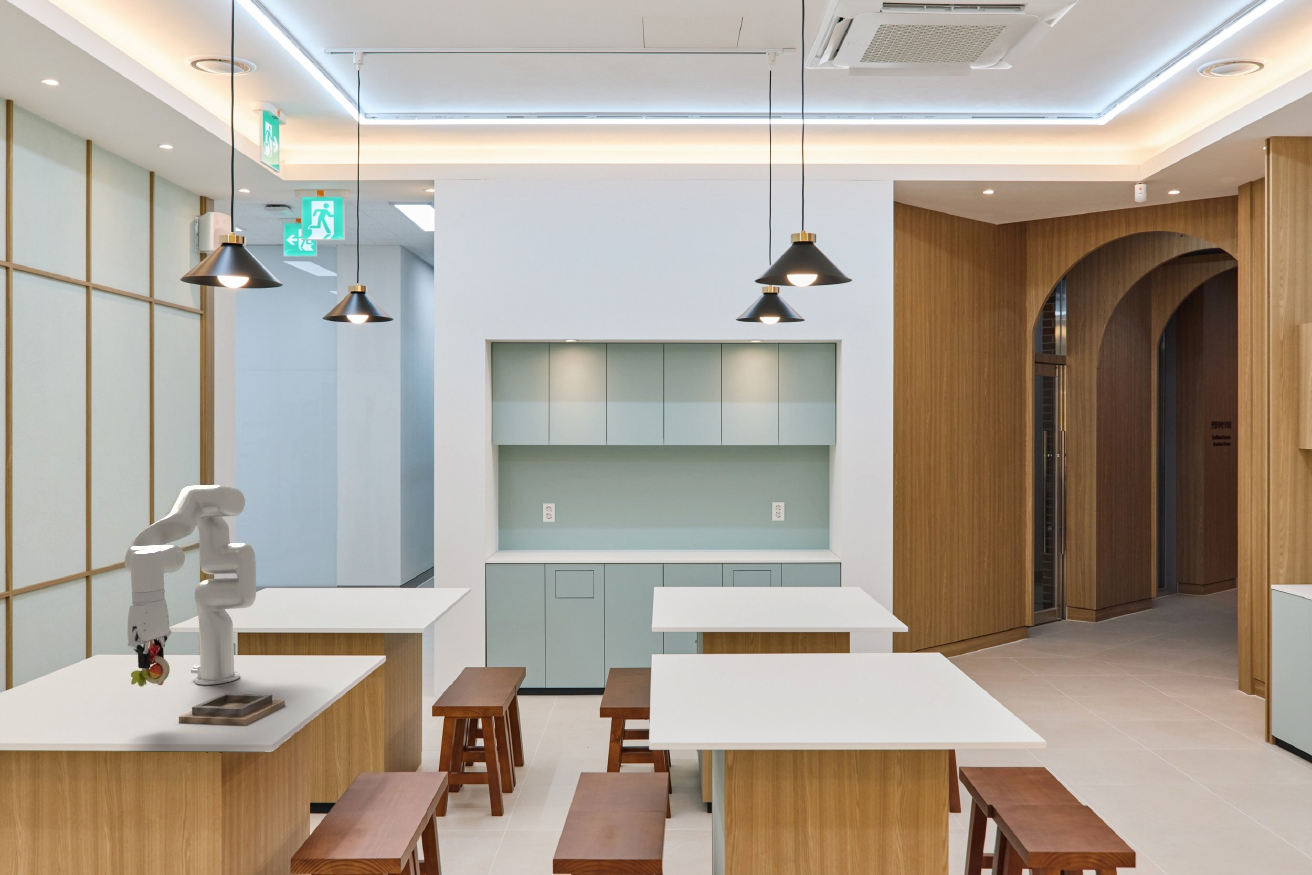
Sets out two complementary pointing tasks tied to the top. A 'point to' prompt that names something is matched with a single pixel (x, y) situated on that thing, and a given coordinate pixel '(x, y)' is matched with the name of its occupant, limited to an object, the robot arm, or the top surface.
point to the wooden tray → (232, 709)
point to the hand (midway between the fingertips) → (151, 664)
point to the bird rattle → (152, 669)
